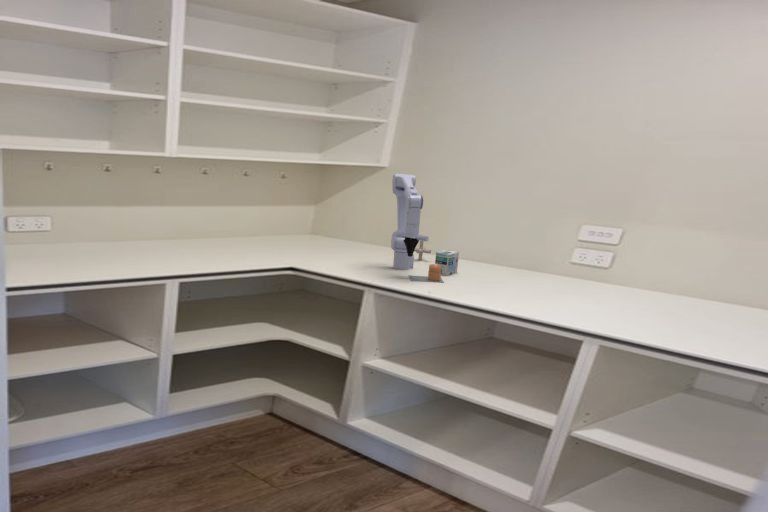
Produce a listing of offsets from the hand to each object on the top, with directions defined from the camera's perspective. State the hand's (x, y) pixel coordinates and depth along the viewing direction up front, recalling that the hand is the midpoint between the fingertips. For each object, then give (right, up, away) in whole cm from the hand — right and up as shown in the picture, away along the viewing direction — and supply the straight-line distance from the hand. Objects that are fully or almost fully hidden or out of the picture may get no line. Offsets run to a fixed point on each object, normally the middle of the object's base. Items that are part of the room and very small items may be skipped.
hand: (410, 256), depth 220 cm
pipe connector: (+7, -2, +46) cm, 46 cm away
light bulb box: (+17, -9, +14) cm, 23 cm away
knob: (+10, -10, -1) cm, 14 cm away
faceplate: (+6, -11, -1) cm, 13 cm away
